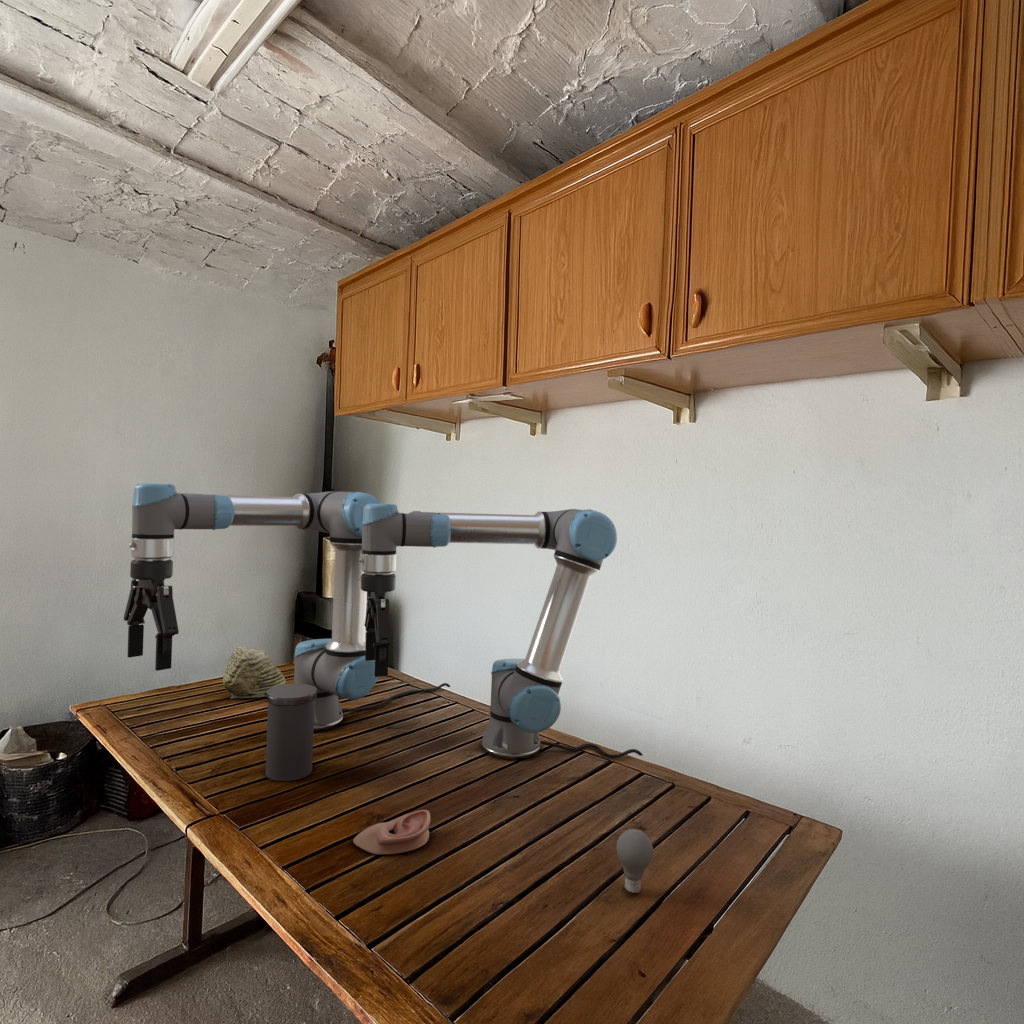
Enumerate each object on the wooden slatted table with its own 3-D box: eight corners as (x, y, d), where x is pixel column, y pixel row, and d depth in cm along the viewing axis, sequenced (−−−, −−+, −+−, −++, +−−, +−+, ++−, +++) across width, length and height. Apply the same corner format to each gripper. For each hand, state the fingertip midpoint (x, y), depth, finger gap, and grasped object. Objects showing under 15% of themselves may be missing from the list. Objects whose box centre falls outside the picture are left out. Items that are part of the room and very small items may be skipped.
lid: (290, 688, 152) (291, 681, 152) (326, 695, 148) (327, 688, 148) (255, 700, 142) (255, 692, 142) (293, 708, 138) (293, 701, 138)
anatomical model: (346, 827, 114) (372, 798, 125) (345, 849, 114) (372, 818, 125) (416, 839, 111) (436, 808, 122) (415, 861, 111) (436, 828, 123)
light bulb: (610, 879, 108) (613, 822, 108) (644, 879, 109) (647, 822, 109) (619, 902, 102) (622, 840, 102) (655, 901, 103) (658, 840, 103)
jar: (288, 759, 152) (291, 683, 151) (321, 768, 148) (324, 690, 147) (255, 775, 143) (258, 694, 142) (290, 785, 138) (293, 702, 138)
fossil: (218, 695, 195) (220, 647, 195) (278, 685, 208) (279, 640, 207) (228, 703, 189) (230, 653, 188) (289, 692, 201) (290, 645, 201)
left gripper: (108, 554, 134) (104, 654, 134) (159, 565, 118) (155, 678, 119) (146, 552, 140) (143, 648, 140) (199, 563, 124) (195, 671, 124)
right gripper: (354, 566, 151) (351, 655, 152) (369, 580, 128) (367, 684, 128) (385, 566, 154) (383, 653, 154) (406, 580, 131) (403, 682, 131)
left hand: (148, 662), depth 129 cm, fingers open, 13 cm apart
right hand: (375, 667), depth 141 cm, fingers open, 13 cm apart
